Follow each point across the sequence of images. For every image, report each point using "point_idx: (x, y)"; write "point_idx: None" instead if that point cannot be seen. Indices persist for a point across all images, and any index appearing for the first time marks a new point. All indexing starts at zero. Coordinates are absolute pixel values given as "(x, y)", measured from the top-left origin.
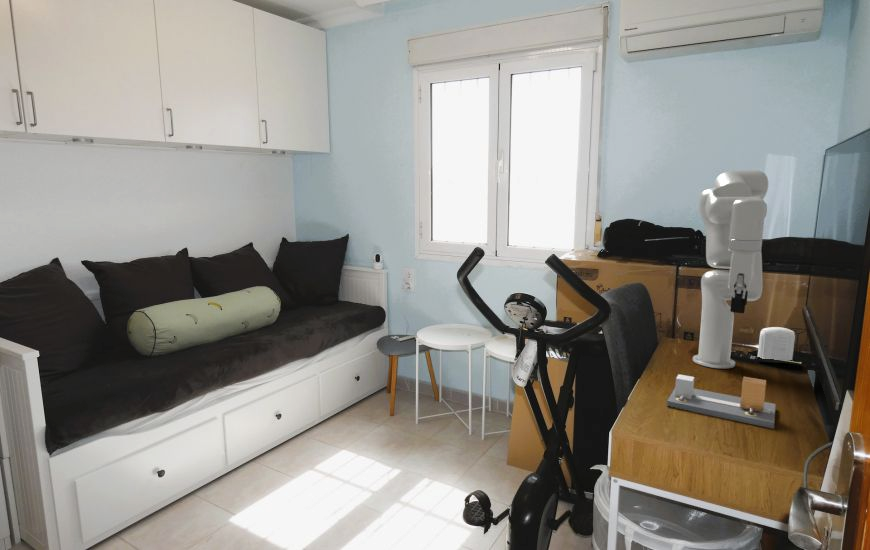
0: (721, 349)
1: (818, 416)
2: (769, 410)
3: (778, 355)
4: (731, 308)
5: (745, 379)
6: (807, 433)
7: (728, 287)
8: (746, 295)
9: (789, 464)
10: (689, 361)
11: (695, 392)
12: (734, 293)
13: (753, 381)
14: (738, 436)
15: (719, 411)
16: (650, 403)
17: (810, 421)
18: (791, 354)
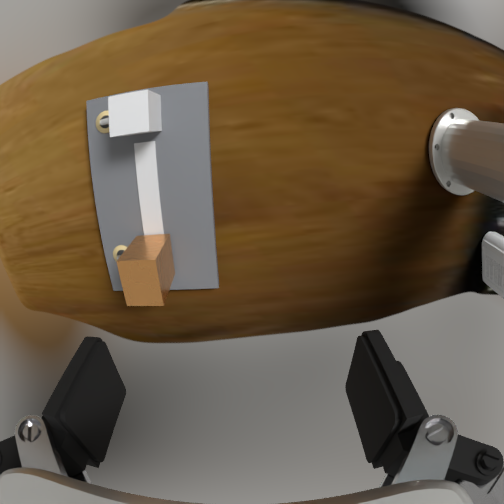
0: (466, 172)
1: (231, 337)
2: None
3: (491, 270)
4: (81, 353)
5: (133, 265)
6: (138, 324)
7: (13, 469)
8: (362, 441)
9: (30, 302)
10: (447, 100)
11: (179, 132)
12: (22, 449)
13: (132, 282)
14: (51, 242)
15: (96, 203)
16: (89, 71)
17: (196, 329)
18: (493, 288)
